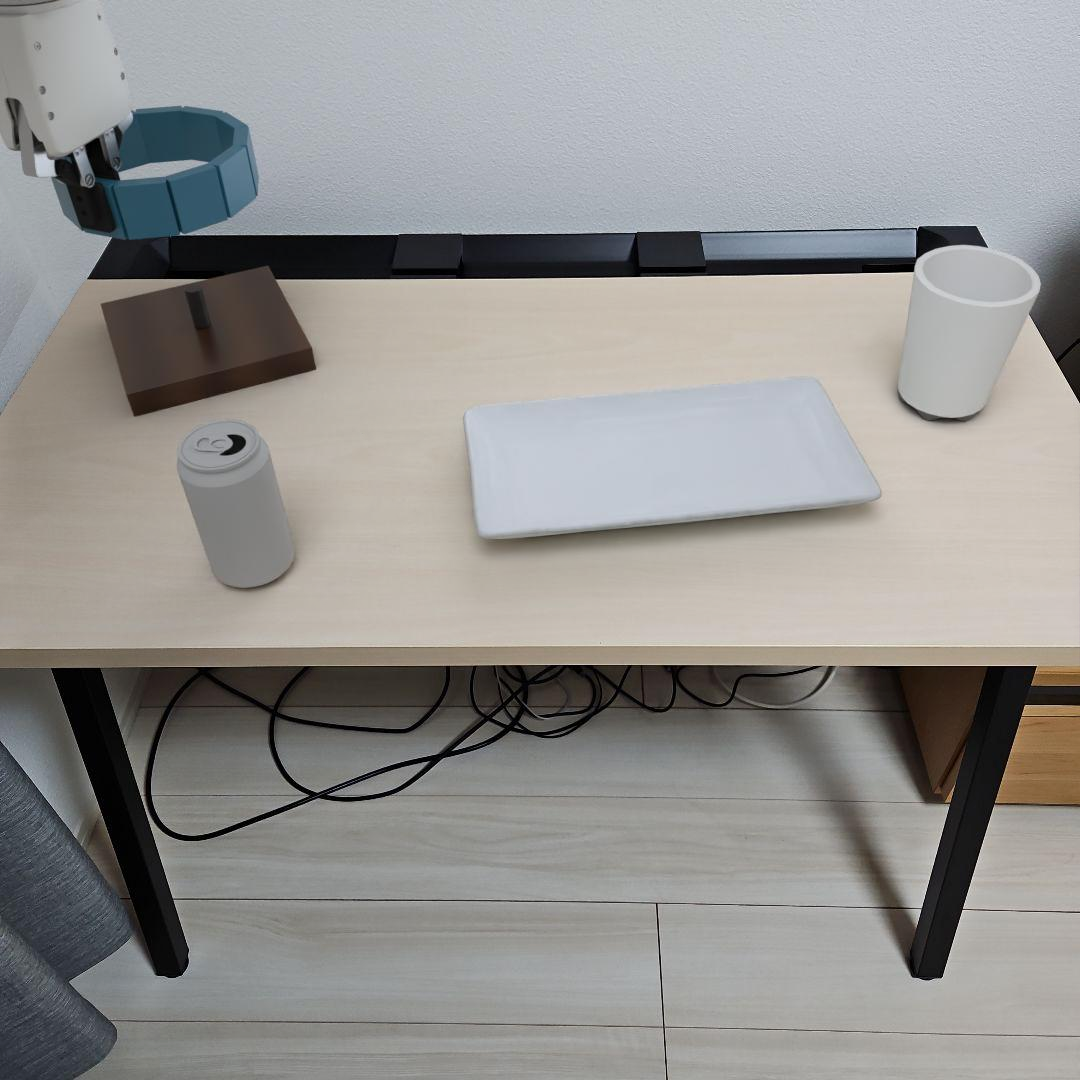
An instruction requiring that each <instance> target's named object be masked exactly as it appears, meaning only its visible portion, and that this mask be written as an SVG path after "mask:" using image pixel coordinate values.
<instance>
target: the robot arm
mask: <svg viewBox="0 0 1080 1080" xmlns="http://www.w3.org/2000/svg"><path fill="white" fill-rule="evenodd" d="M131 110H133V101H132V95H131V90H130V85H129V81H128V78H127V73H126V71H125V68H124V64H123V61H122V58H121V55H120V51H119V48H118V46H117V43H116V40H115V38H114V35H113V31H112V30H111V27H110V24H109V22H108V19H107V17H106V14H105V11H104V10H103V7H102V5H101V3H100V0H0V136H1V138H2V141H3V143H4V145H5V146H6V148H7V149H8V150H9V151H13V152H20V157H21V158H20V159H21V167H22V173H23V174H24V175H25V176H27V177H31V178H32V177H33V178H38V179H47V178H51V177H54V178H56V179H57V181H58V182H59V183H63V184H66V186H67V189H68V192H69V195H70V198H71V201H72V204H73V207H74V210H75V213H76V216H77V219H78V222H79V224H80V226H81V227H82V228H85V229H90V230H96V231H101V232H107V233H111V232H113V231H114V230H115V229H116V225H115V221H114V218H113V215H112V212H111V209H110V205H109V202H108V199H107V196H106V193H105V189H104V187H103V184H102V183H99V182H95V177H98V178H104V179H110V180H116V181H118V180H121V177H120V174H119V173H120V172H119V173H118V172H117V171H118V170H119V169H120V168H121V165H122V161H121V157H120V153H119V149H120V145H121V141H122V135H124V133H125V132H126V130H127V129H128V128H129V126H130V125H131V124H132V122H133V115H132V112H131ZM66 157H71V158H70V159H71V162H72V163H71V162H69V161H67V160H66Z"/></svg>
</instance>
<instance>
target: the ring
mask: <svg viewBox="0 0 1080 1080" xmlns="http://www.w3.org/2000/svg"><path fill="white" fill-rule="evenodd" d="M131 112H132V115H133V122H132V124H131V125H130V126H129V128H128V129H127V130H126V132H125V133H124V135H122V141H121V145H120V149H119V153H120V157H121V161H122V165H121V168H120V169H119V170H118V171H117V172H118V173H122V172H125V171H129V170H133V169H135V168H138V167H143V166H145V165H150V164H158V163H168V162H169V163H171V162H181V161H183V162H184V161H197V162H198V161H199V162H203V164H201V165H197V166H195V167H191V168H188V169H185V170H181V171H178V172H175V173H172V174H168V175H165V176H156V177H155V176H154V177H143V178H132V179H120V180H118V181H116V180H110V179H104V178H98V177H95V182H99V183H102V184H103V187H104V189H105V193H106V196H107V199H108V202H109V205H110V209H111V212H112V215H113V218H114V221H115V225H116V229H115V230H114V231H113V232H111V233H107V232H101V231H96V230H90V229H85V228H82V227H81V226H80V224H79V222H78V219H77V216H76V213H75V210H74V207H73V204H72V201H71V198H70V195H69V192H68V189H67V186H66V184H63V183H59V182H58V181H57V179H56V178H54V177H50V178H51V181H52V184H53V188H54V191H55V193H56V197H57V200H58V201H59V205H60V208H61V211H62V213H63V216H64V217H66V218H67V219H68V220H69V221H70V222H71V223H72V224H74V226H76V227H77V228H78V229H79V230H80V231H81V232H84V233H86V234H91V235H97V236H102V237H107V238H113V239H118V240H124V241H126V240H127V239H128V240H129V241H132V240H133V241H134V240H143V239H155V238H156V239H157V238H165V237H166V238H168V237H177V236H180V235H181V233H182V234H183V235H187V234H190V233H192V232H195V231H199V230H201V229H205V228H208V227H211V226H213V225H217V224H220V223H223V222H225V221H228V220H229V219H232V218H233V217H234V216H236V215H237V214H238V213H240V212H241V211H242V210H244V209H245V208H246V207H247V206H248V205H249V204H251V203H252V202H253V201H255V200H256V199H257V197H258V196H259V181H260V175H259V171H258V166H257V165H258V164H257V161H256V155H255V150H254V146H253V141H252V135H251V131H250V127H249V125H248V124H247V123H245V122H243V121H242V120H240V119H238V118H236V117H235V116H233V115H232V114H230V113H229V112H226V111H223V110H218V109H212V108H211V109H210V108H203V107H197V106H188V105H184V106H183V105H172V106H159V107H147V108H146V107H144V108H136V109H135V111H134V110H133V109H132V110H131ZM70 158H71V157H66V160H67V161H69V162H71V159H70ZM204 162H205V163H204ZM71 163H72V162H71Z"/></svg>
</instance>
